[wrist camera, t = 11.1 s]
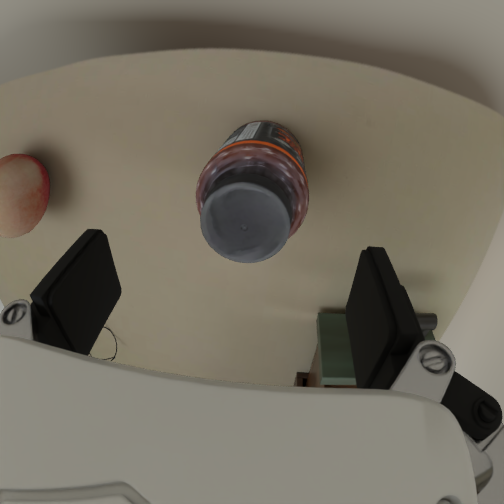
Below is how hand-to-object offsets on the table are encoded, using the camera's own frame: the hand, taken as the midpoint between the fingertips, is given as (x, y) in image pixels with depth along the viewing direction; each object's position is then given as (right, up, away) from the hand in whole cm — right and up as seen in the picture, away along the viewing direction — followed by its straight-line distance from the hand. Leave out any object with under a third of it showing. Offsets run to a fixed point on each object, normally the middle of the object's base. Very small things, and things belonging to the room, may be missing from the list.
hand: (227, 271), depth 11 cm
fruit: (-21, +8, +15) cm, 27 cm away
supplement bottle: (+2, +8, +12) cm, 15 cm away
